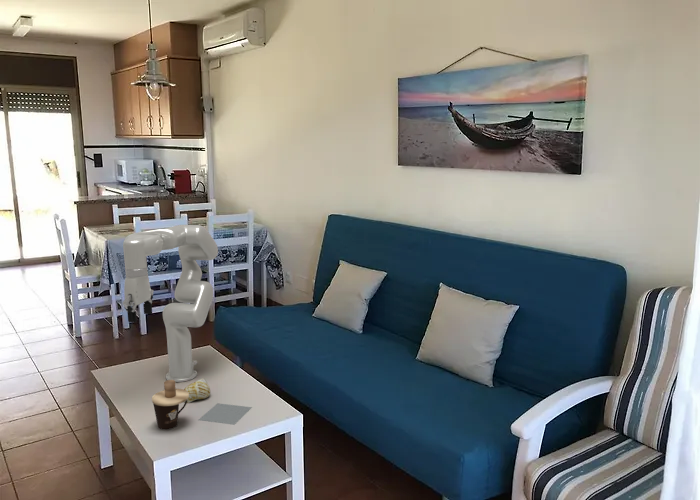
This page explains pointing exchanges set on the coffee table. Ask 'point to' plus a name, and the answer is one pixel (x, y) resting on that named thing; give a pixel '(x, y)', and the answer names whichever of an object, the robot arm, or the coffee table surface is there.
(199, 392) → the seashell
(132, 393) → the coffee table surface
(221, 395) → the coffee table surface
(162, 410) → the coffee mug
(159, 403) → the lid
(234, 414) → the mat
